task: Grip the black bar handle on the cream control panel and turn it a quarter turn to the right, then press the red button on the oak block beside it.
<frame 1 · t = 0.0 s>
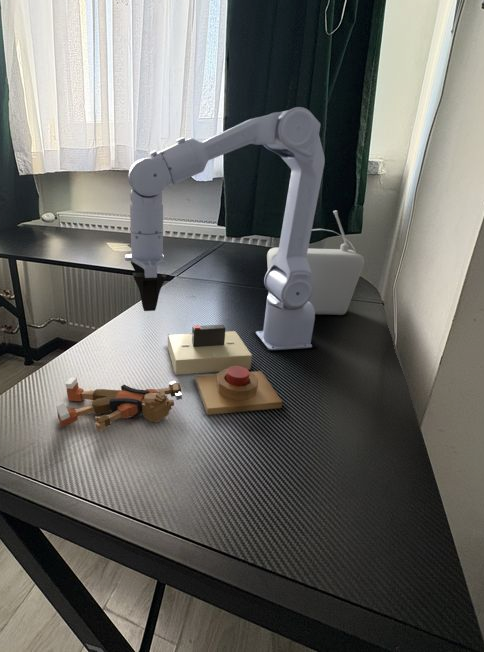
hand: (147, 302, 72), 10 cm above the table, tool pointing down, fingers open, 7 cm apart
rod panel: (207, 358, 73), on the table
button block: (236, 394, 62), on the table
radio: (305, 309, 97), on the table
start button: (237, 376, 61), point 3 cm above the table, slide at 0.1 cm
character figurine: (119, 413, 57), on the table
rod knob: (208, 335, 71), point 5 cm above the table, hinge at 0.0°
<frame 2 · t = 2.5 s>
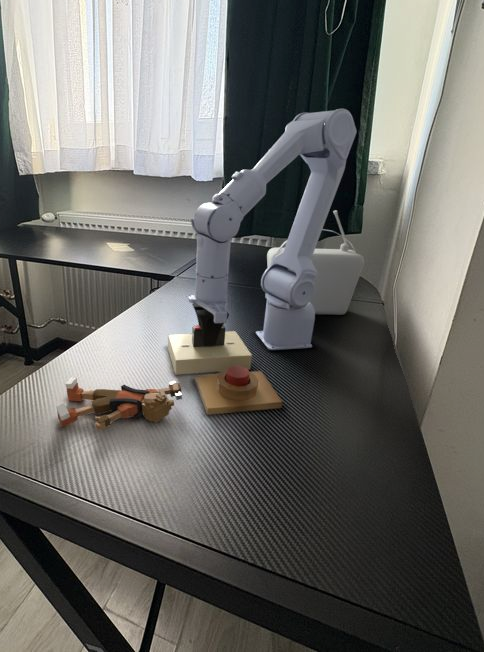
hand: (208, 342, 71), 4 cm above the table, tool pointing down, fingers closed on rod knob, 2 cm apart
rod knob: (208, 335, 71), point 5 cm above the table, hinge at -0.1°, touching gripper
everything else where it was.
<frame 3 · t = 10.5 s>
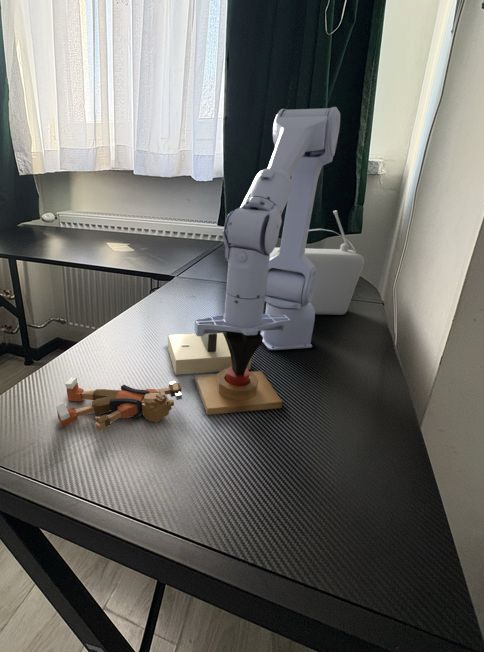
hand: (238, 371, 60), 4 cm above the table, tool pointing down, fingers closed, pressing on start button
start button: (237, 376, 61), point 3 cm above the table, slide at 0.1 cm, touching gripper
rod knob: (208, 335, 71), point 5 cm above the table, hinge at -90.0°
everything else where it was.
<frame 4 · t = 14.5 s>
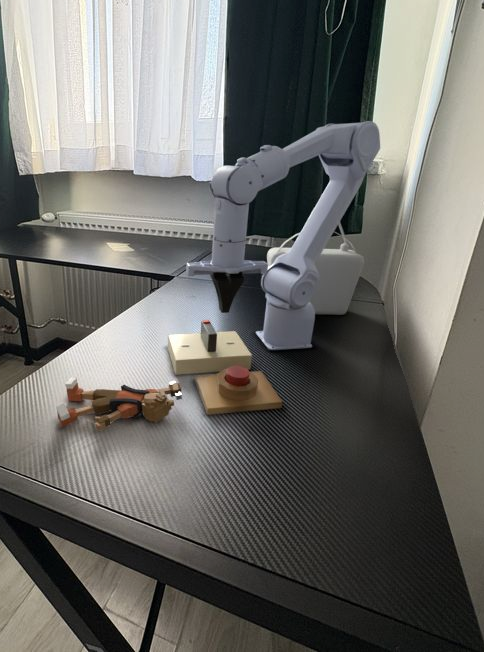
hand: (224, 310, 71), 9 cm above the table, tool pointing down, fingers closed
start button: (237, 376, 61), point 3 cm above the table, slide at 0.1 cm
everything else where it was.
at the end: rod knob at -90° (first picture: +0°); start button pushed in 1.2 cm at the most during the clip, back to where it started at the end; start button slide at 0.1 cm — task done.
